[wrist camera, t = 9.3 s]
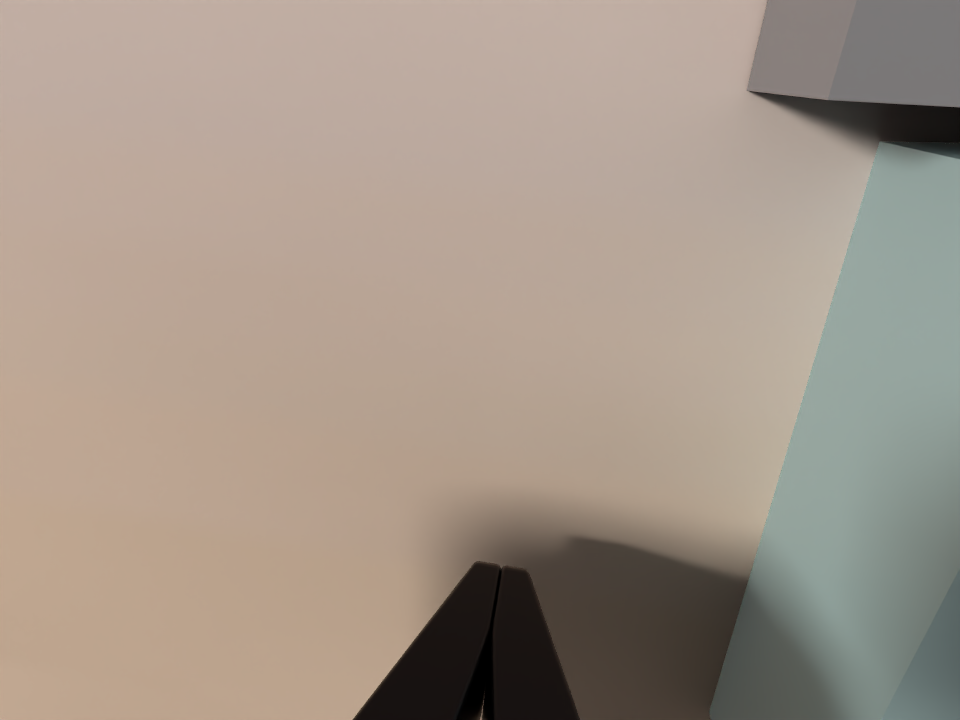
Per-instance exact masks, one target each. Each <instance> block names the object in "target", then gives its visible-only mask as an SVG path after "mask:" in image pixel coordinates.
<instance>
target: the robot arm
mask: <svg viewBox="0 0 960 720" xmlns="http://www.w3.org/2000/svg"><path fill="white" fill-rule="evenodd" d="M484 694H485V695H484ZM483 700H484V704H483ZM482 706H483V714H482V720H580V718H579V715H578V712H577V709H576V706H575V703H574V701H573V698H572V695H571V692H570V689H569V686H568V683H567V681H566V678H565V675H564V672H563V669H562V666H561V663H560V660H559V658H558V655H557V652H556V649H555V646H554V643H553V640H552V637H551V635H550V632H549V629H548V626H547V623H546V620H545V617H544V615H543V612H542V609H541V606H540V603H539V600H538V597H537V594H536V592H535V589H534V586H533V583H532V580H531V577H530V574H529V573H528V571H527V570H526V569H523V568H517V567H511V566H504V567H502V569H501V568H500V566H499V565H498V564H493V563H487V562H480V561H477V562H475V563H474V564H473V565H472V566H471V568H470V569H469V570H468V571H467V573H466V574H465V575H464V577H463V578H462V579H461V580H460V582H459V583H458V584H457V586H456V587H455V588H454V590H453V591H452V592H451V593H450V595H449V596H448V597H447V599H446V600H445V601H444V602H443V604H442V605H441V606H440V608H439V609H438V610H437V611H436V613H435V614H434V615H433V617H432V618H431V619H430V620H429V622H428V623H427V624H426V626H425V627H424V628H423V630H422V631H421V632H420V633H419V635H418V636H417V637H416V639H415V640H414V641H413V642H412V644H411V645H410V646H409V648H408V649H407V650H406V651H405V653H404V654H403V655H402V657H401V658H400V659H399V660H398V662H397V663H396V664H395V666H394V667H393V668H392V670H391V671H390V672H389V673H388V675H387V676H386V677H385V679H384V680H383V681H382V682H381V684H380V685H379V686H378V688H377V689H376V690H375V691H374V693H373V694H372V695H371V697H370V698H369V699H368V700H367V702H366V703H365V704H364V706H363V707H362V708H361V710H360V711H359V712H358V713H357V715H356V716H355V717H354V719H353V720H480V717H481V712H482Z"/></svg>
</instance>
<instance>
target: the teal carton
mask: <svg viewBox="0 0 960 720" xmlns="http://www.w3.org/2000/svg"><path fill="white" fill-rule="evenodd" d="M709 714H710V719H711V720H960V143H937V142H887V141H880V142H879V146H878V149H877V152H876V156H875V159H874V162H873V166H872V169H871V172H870V176H869V179H868V182H867V186H866V189H865V192H864V196H863V199H862V202H861V206H860V209H859V212H858V216H857V219H856V222H855V226H854V229H853V233H852V236H851V239H850V243H849V246H848V249H847V253H846V256H845V259H844V263H843V266H842V269H841V273H840V276H839V279H838V283H837V286H836V289H835V293H834V296H833V299H832V303H831V306H830V309H829V313H828V316H827V319H826V323H825V326H824V329H823V333H822V336H821V339H820V343H819V346H818V349H817V353H816V356H815V359H814V363H813V366H812V370H811V373H810V376H809V380H808V383H807V386H806V390H805V393H804V396H803V400H802V403H801V406H800V410H799V413H798V416H797V420H796V423H795V426H794V430H793V433H792V436H791V440H790V443H789V446H788V450H787V453H786V456H785V460H784V463H783V466H782V470H781V473H780V476H779V480H778V483H777V486H776V490H775V493H774V497H773V500H772V503H771V507H770V510H769V513H768V517H767V520H766V523H765V527H764V530H763V533H762V537H761V540H760V543H759V547H758V550H757V553H756V557H755V560H754V563H753V567H752V570H751V573H750V577H749V580H748V583H747V587H746V590H745V593H744V597H743V600H742V603H741V607H740V610H739V613H738V617H737V620H736V624H735V627H734V630H733V634H732V637H731V640H730V644H729V647H728V650H727V654H726V657H725V660H724V664H723V667H722V670H721V674H720V677H719V680H718V684H717V687H716V690H715V694H714V697H713V700H712V704H711V707H710V710H709Z"/></svg>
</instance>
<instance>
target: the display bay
mask: <svg viewBox="0 0 960 720" xmlns="http://www.w3.org/2000/svg"><path fill="white" fill-rule="evenodd" d="M747 91H755V92H763V93H772V94H781V95H789V96H798V97H806V98H815V99H823V100H837V101H855V102H873V103H891V104H909V105H928V106H946V107H960V0H768V2H767V6H766V10H765V15H764V19H763V23H762V27H761V32H760V36H759V40H758V45H757V49H756V53H755V57H754V62H753V66H752V70H751V74H750V79H749V83H748V87H747Z"/></svg>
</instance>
